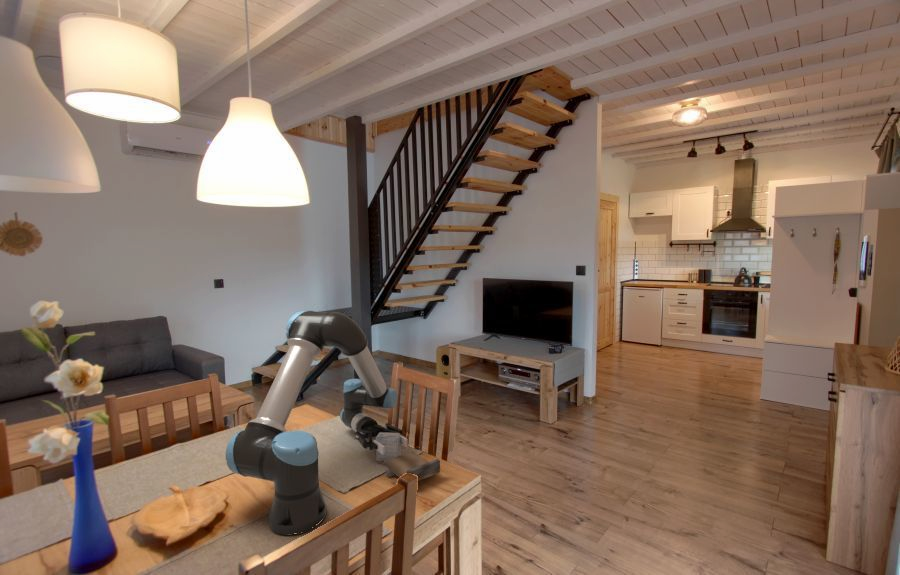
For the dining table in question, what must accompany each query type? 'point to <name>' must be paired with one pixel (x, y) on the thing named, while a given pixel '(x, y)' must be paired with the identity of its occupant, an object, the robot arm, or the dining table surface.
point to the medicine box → (388, 446)
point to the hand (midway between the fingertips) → (395, 446)
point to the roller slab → (411, 466)
